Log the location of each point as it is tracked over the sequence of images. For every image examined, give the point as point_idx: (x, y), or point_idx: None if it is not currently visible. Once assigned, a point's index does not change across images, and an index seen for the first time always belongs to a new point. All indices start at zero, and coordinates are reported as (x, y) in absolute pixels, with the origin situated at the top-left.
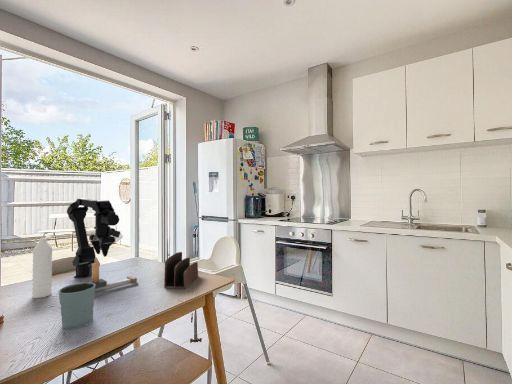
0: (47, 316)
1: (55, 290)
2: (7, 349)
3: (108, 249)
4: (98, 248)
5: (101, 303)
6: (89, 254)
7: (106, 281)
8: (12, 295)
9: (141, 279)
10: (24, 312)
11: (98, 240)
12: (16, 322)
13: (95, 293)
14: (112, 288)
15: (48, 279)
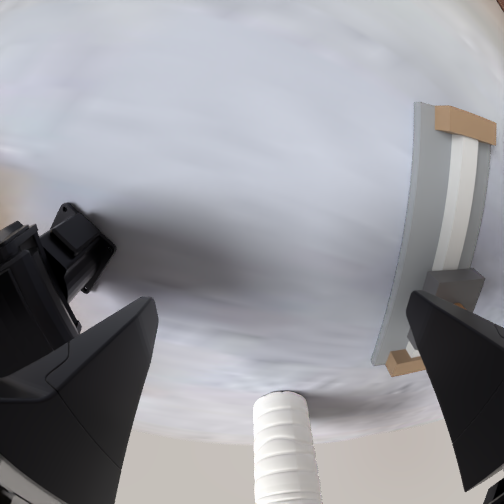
0: None
1: (251, 378)
2: None
3: (499, 328)
4: (122, 369)
5: (501, 296)
6: (34, 318)
7: (484, 279)
8: (203, 435)
9: (426, 51)
10: (380, 420)
11: (36, 485)
12: (416, 419)
13: None
14: (468, 237)
15: (312, 446)
